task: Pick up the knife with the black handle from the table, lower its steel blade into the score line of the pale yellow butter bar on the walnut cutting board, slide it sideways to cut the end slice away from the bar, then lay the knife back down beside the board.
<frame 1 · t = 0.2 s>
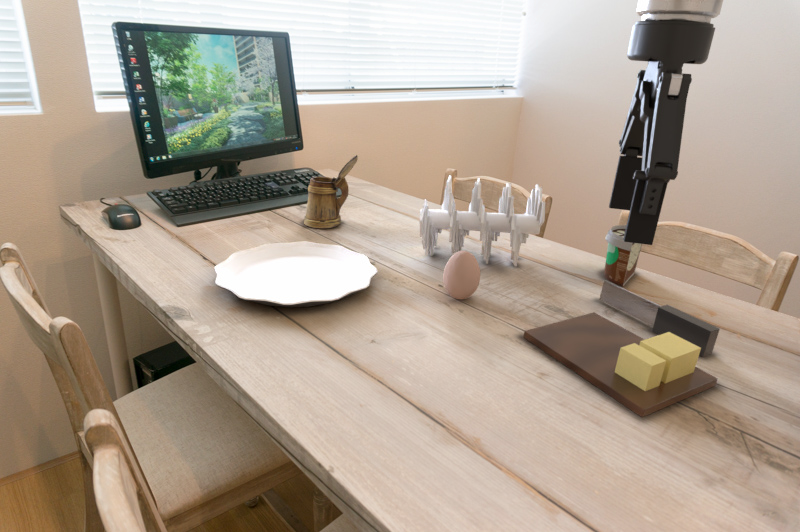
hand: (627, 224, 61), 24 cm above the table, tool pointing down, fingers open, 13 cm apart
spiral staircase: (474, 259, 116), on the table
knife: (680, 341, 86), on the table
food container: (613, 276, 111), on the table
butter bar: (663, 368, 75), point 1 cm above the table, touching cutting board
butter slice: (636, 379, 73), point 1 cm above the table, touching cutting board
wooden mug: (330, 225, 132), on the table
egg: (459, 299, 96), on the table
plate: (297, 280, 100), on the table
cutting board: (613, 360, 79), on the table
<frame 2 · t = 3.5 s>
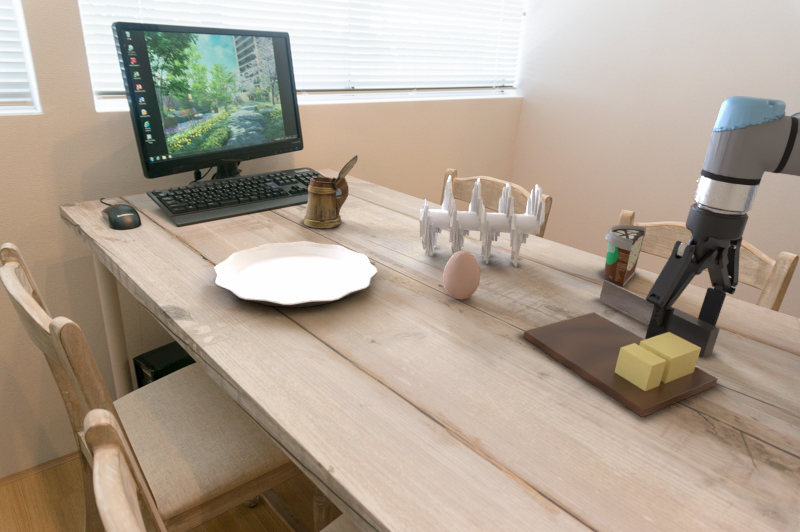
hand: (680, 334, 85), 1 cm above the table, tool pointing down, fingers open, 13 cm apart
nothing on the table moved.
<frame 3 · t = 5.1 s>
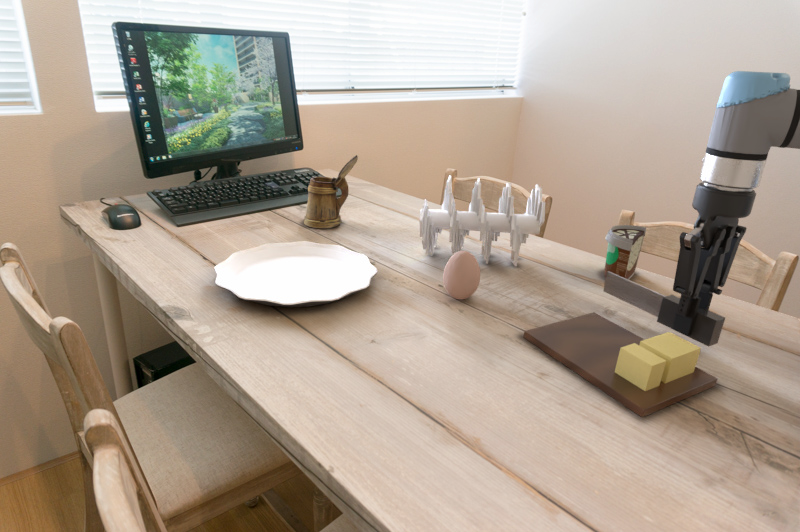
hand: (687, 329, 85), 2 cm above the table, tool pointing down, fingers closed on knife, 2 cm apart
knife: (686, 332, 85), point 2 cm above the table, touching gripper
everything else where it was.
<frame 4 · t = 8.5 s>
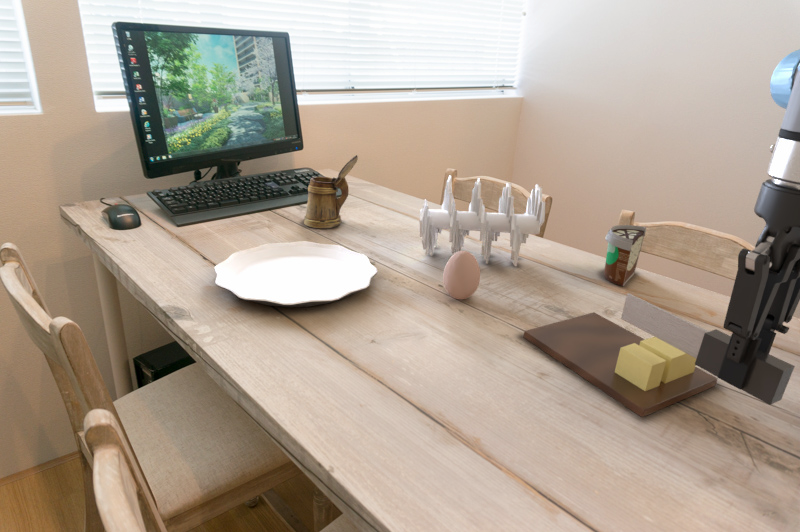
hand: (738, 379, 63), 7 cm above the table, tool pointing down, fingers closed on knife, 2 cm apart
knife: (735, 381, 63), point 7 cm above the table, touching gripper
everything else where it was.
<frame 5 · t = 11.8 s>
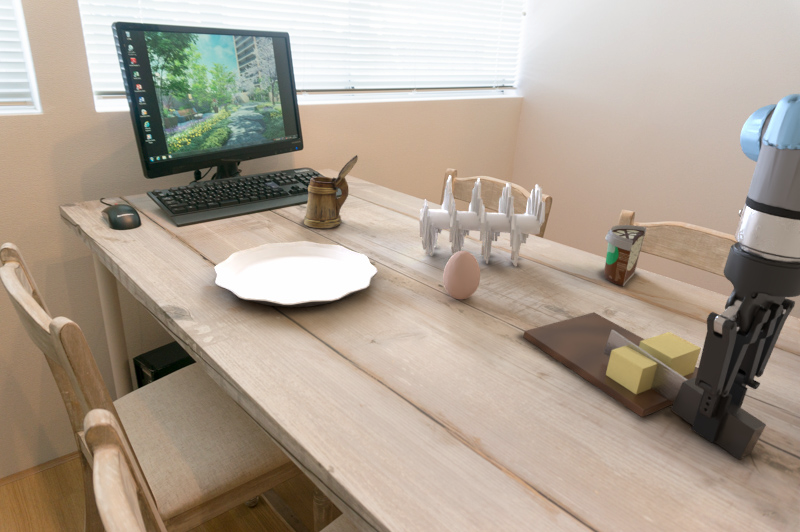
hand: (711, 430, 64), 1 cm above the table, tool pointing down, fingers closed on knife, 2 cm apart
knife: (709, 430, 64), on the table, tilted 5°, touching butter slice, cutting board, gripper
butter slice: (627, 381, 72), point 1 cm above the table, touching cutting board, knife
everything else where it was.
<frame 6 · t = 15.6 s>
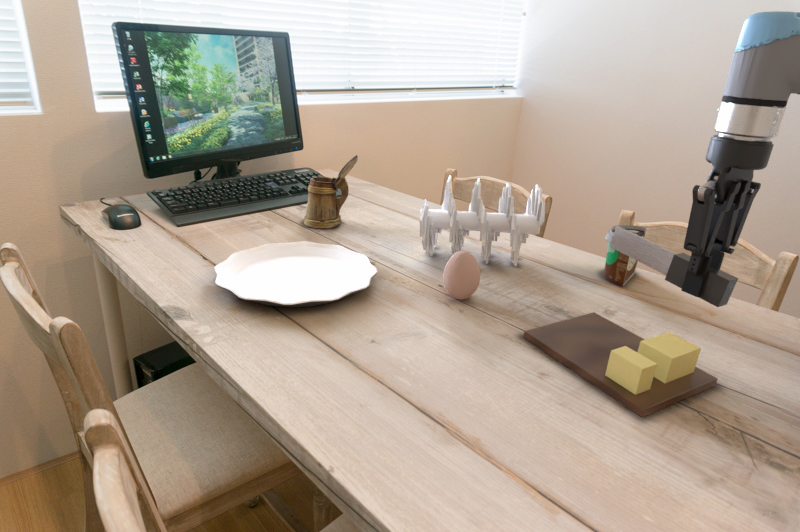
hand: (696, 291, 81), 9 cm above the table, tool pointing down, fingers closed on knife, 2 cm apart
knife: (694, 291, 82), point 9 cm above the table, tilted 5°, touching gripper
butter slice: (627, 382, 72), point 1 cm above the table, touching cutting board
everything else where it was.
when the fingers open (0 cm above the table, at t = 18.9 s): knife stays where it is, on the table.
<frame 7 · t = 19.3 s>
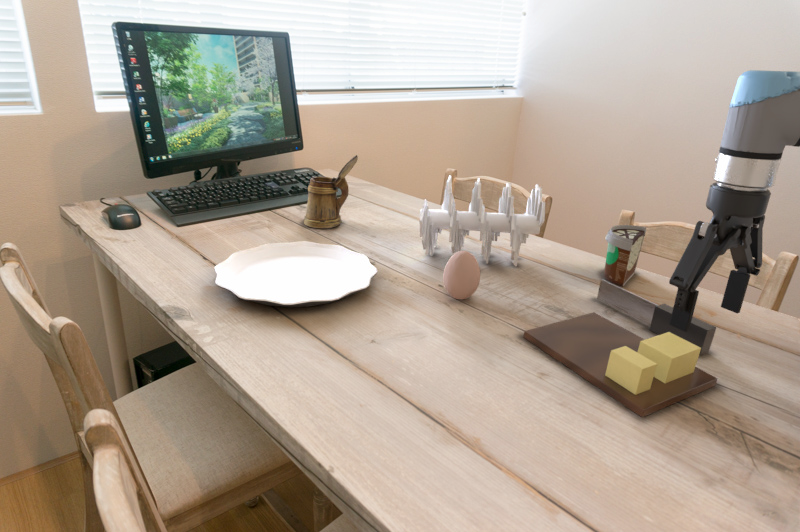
hand: (705, 318, 83), 5 cm above the table, tool pointing down, fingers open, 13 cm apart
knife: (677, 340, 86), on the table
everything else where it was.
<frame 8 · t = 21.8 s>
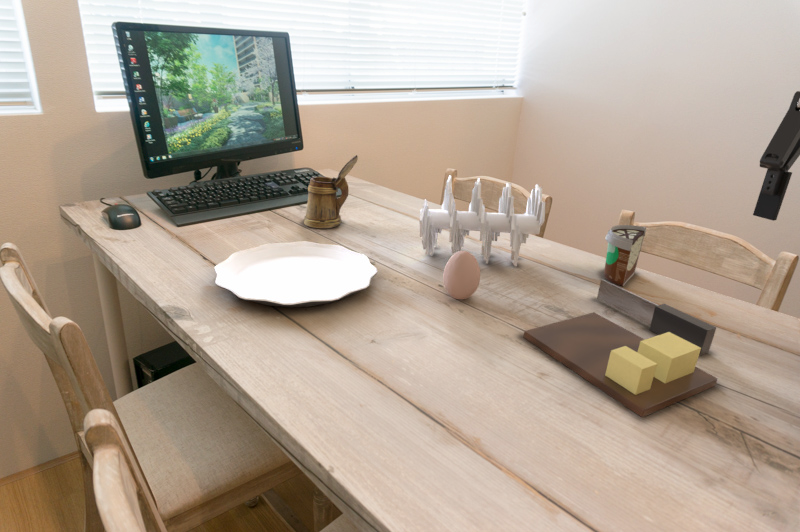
hand: (789, 213, 76), 23 cm above the table, tool pointing down, fingers open, 13 cm apart
nothing on the table moved.
at the end: butter slice moved 1.9 cm from its start; butter bar moved 0.0 cm from its start; the gripper is holding nothing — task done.
